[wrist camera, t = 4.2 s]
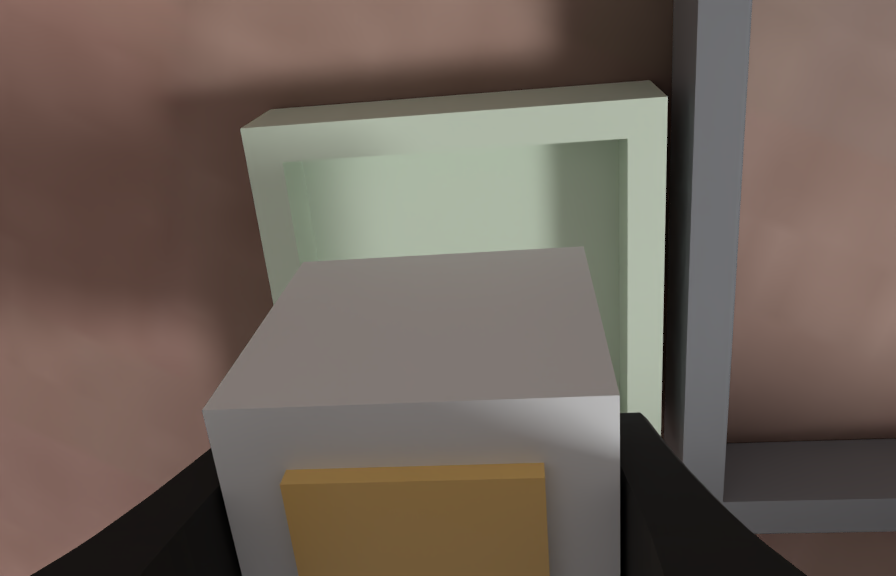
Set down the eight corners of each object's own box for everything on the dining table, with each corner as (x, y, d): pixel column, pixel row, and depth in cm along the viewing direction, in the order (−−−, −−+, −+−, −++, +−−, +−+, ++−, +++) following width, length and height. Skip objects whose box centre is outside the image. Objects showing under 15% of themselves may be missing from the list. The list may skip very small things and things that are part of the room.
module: (588, 483, 15) (623, 725, 11) (341, 488, 16) (267, 722, 11) (583, 245, 14) (623, 409, 9) (302, 261, 14) (192, 423, 9)
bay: (645, 415, 21) (660, 465, 19) (325, 425, 22) (305, 474, 20) (649, 80, 18) (667, 96, 16) (270, 109, 19) (240, 128, 17)
